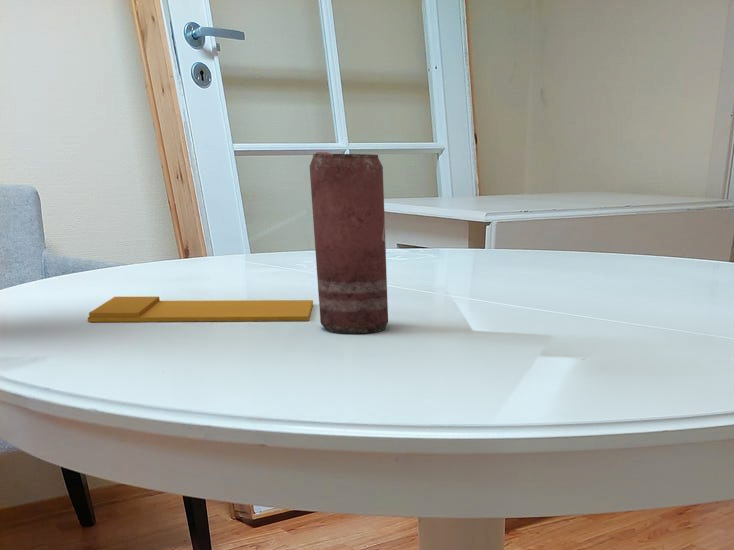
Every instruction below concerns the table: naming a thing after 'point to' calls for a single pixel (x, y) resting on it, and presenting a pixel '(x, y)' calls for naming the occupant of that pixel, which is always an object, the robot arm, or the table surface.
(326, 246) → the can
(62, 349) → the table surface
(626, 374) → the table surface
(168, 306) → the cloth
